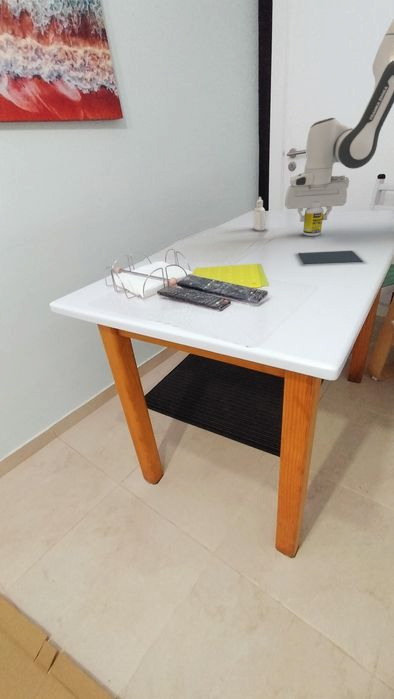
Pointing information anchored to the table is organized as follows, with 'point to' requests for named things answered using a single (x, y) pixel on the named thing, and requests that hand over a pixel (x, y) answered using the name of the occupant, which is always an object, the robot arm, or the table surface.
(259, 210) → the eye dropper bottle
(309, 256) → the mat
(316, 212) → the pill bottle
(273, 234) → the table surface
